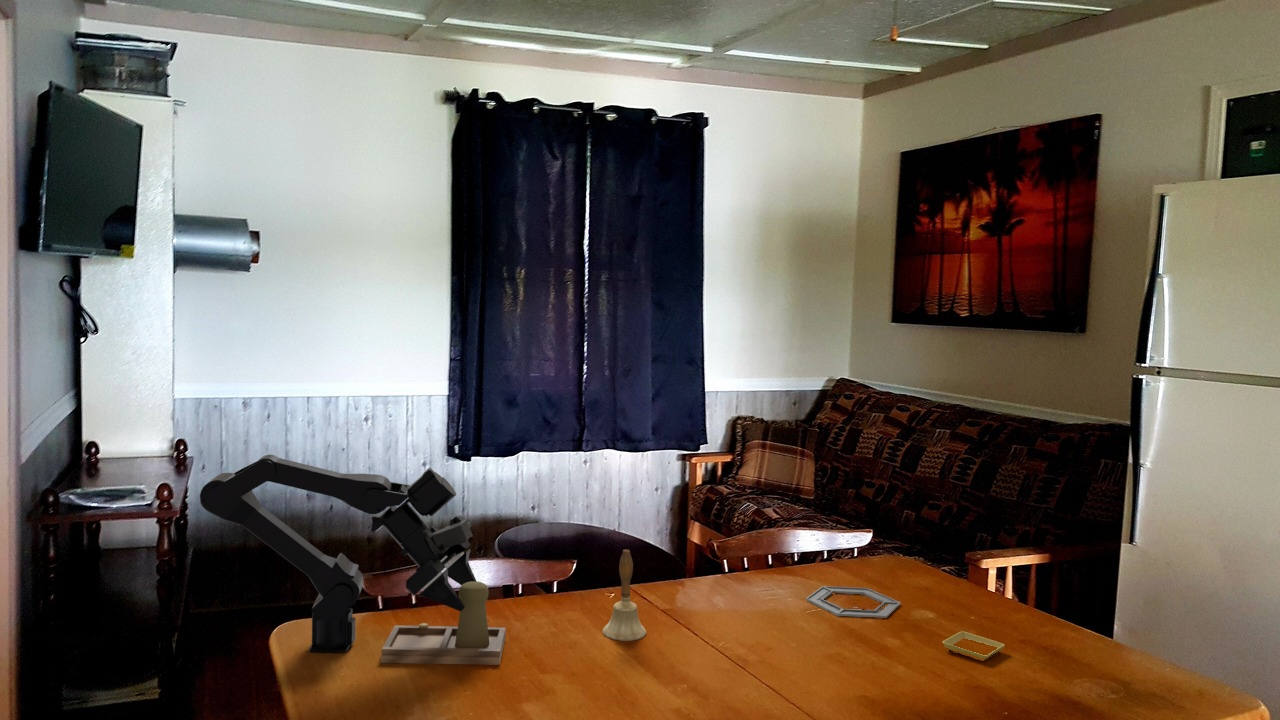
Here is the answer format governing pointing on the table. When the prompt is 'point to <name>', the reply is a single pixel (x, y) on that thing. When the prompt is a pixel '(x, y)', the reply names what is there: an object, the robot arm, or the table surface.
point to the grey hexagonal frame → (825, 591)
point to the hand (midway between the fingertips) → (470, 600)
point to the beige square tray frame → (957, 637)
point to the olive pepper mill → (473, 616)
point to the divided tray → (439, 646)
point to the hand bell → (625, 608)
